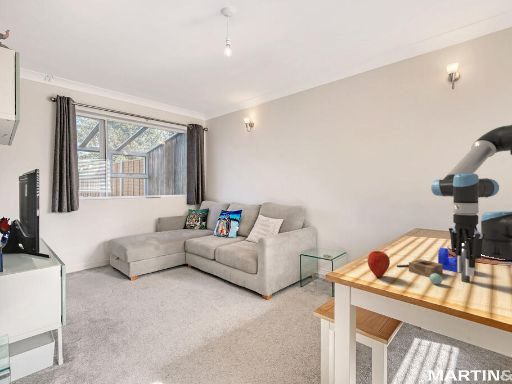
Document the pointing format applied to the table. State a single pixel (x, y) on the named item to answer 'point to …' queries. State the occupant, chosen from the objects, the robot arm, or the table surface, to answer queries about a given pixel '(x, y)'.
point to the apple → (378, 263)
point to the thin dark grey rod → (402, 265)
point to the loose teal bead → (435, 278)
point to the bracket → (447, 260)
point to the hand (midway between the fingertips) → (465, 273)
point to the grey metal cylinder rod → (464, 263)
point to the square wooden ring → (425, 267)
